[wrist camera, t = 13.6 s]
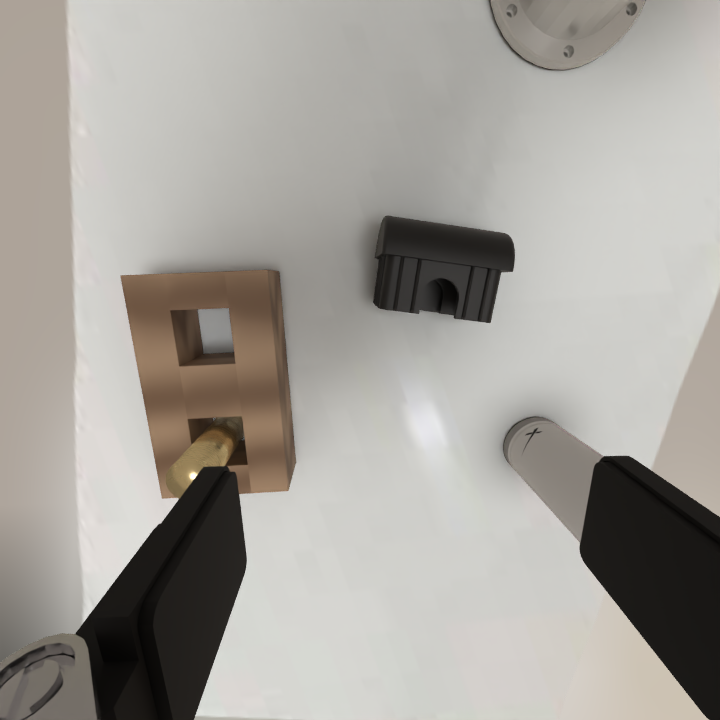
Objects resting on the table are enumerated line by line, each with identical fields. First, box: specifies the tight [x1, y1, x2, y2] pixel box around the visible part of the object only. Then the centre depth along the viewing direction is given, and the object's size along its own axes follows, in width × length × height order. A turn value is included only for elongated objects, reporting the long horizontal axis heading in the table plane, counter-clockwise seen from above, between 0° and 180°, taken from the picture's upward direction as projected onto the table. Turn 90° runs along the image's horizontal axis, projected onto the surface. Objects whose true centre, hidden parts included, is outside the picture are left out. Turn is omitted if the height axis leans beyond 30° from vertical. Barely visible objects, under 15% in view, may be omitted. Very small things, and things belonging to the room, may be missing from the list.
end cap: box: [373, 216, 515, 323], centre depth 29 cm, size 10×7×7 cm
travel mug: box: [504, 417, 604, 542], centre depth 27 cm, size 6×7×20 cm
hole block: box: [121, 270, 296, 499], centre depth 31 cm, size 19×11×5 cm, turn 2°
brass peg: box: [166, 416, 244, 499], centre depth 29 cm, size 3×3×11 cm
